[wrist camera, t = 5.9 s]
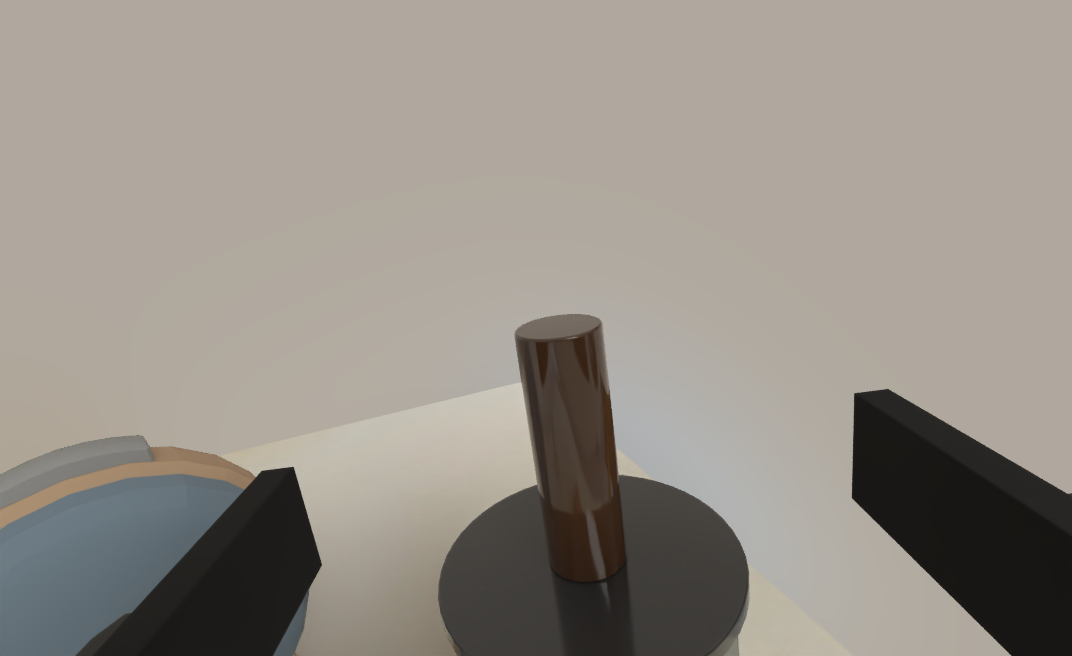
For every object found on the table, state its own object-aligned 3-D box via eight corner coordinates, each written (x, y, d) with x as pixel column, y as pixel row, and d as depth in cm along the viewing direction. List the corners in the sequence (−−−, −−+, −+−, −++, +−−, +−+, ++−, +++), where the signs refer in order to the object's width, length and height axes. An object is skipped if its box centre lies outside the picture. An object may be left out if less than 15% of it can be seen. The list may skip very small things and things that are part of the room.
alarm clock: (308, 639, 33) (225, 373, 28) (385, 743, 26) (291, 412, 21) (-7, 848, 24) (-205, 505, 19) (-19, 1095, 17) (-336, 650, 12)
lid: (791, 547, 19) (789, 289, 16) (656, 823, 11) (614, 432, 9) (562, 476, 25) (535, 283, 23) (382, 623, 18) (314, 364, 15)
